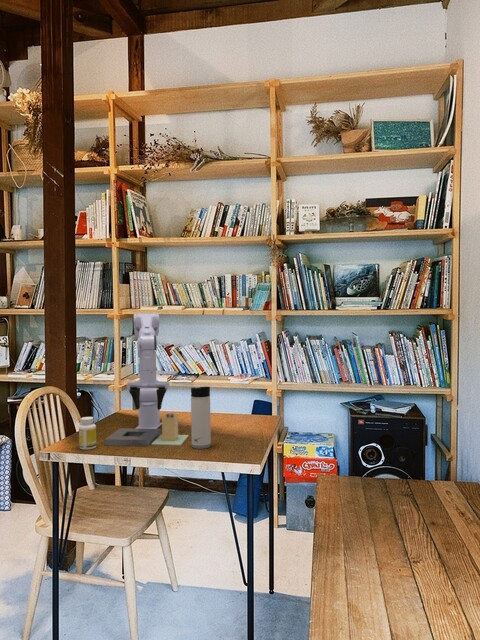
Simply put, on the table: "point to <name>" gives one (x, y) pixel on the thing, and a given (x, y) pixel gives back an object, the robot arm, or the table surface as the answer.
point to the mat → (178, 442)
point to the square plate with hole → (133, 437)
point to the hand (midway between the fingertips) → (148, 409)
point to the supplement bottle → (87, 433)
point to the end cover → (169, 427)
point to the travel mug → (200, 417)
